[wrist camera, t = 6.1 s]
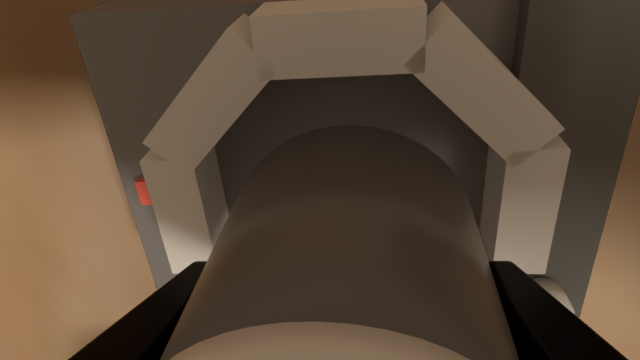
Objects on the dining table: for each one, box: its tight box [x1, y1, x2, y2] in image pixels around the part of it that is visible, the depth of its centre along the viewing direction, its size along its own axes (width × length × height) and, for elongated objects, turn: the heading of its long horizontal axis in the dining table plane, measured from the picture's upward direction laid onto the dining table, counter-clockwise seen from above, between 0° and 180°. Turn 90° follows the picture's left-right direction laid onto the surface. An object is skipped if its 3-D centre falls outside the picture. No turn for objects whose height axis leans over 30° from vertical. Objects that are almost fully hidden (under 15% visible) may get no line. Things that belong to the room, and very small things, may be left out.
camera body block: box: [69, 0, 640, 318], centre depth 13 cm, size 12×9×4 cm
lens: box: [160, 125, 519, 360], centre depth 7 cm, size 5×5×6 cm
